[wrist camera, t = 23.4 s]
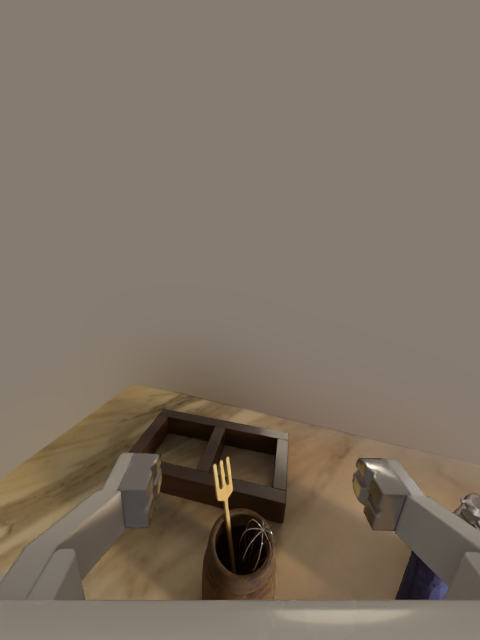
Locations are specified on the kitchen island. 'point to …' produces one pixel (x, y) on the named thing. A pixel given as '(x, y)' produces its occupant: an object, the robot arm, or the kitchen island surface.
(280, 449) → the rack
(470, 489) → the kitchen island surface
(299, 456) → the kitchen island surface
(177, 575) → the kitchen island surface
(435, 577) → the flask
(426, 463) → the kitchen island surface
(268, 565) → the utensil holder
